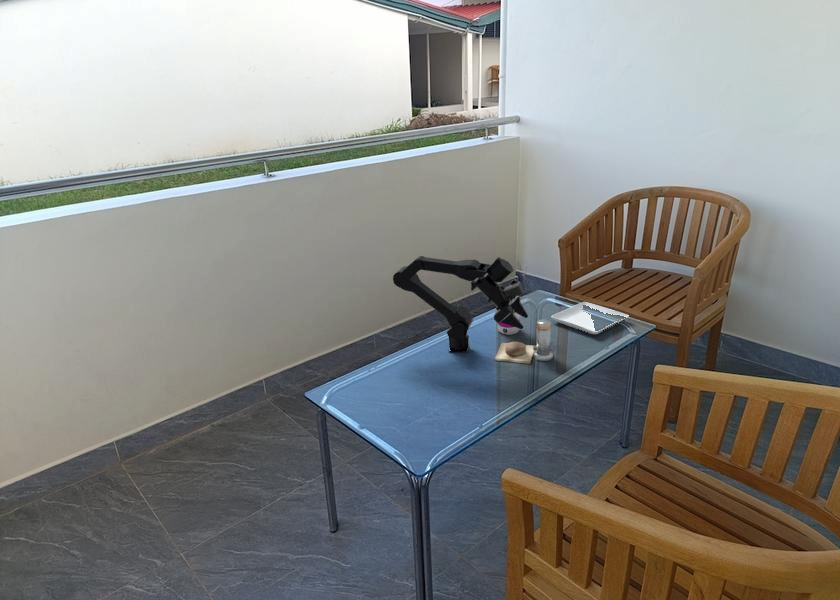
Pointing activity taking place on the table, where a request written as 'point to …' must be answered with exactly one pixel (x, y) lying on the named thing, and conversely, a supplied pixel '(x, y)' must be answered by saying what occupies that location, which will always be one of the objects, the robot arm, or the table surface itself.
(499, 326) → the supplement can
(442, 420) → the table surface
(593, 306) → the salad plate
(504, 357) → the beige square tile
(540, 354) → the grey tall flared piece
